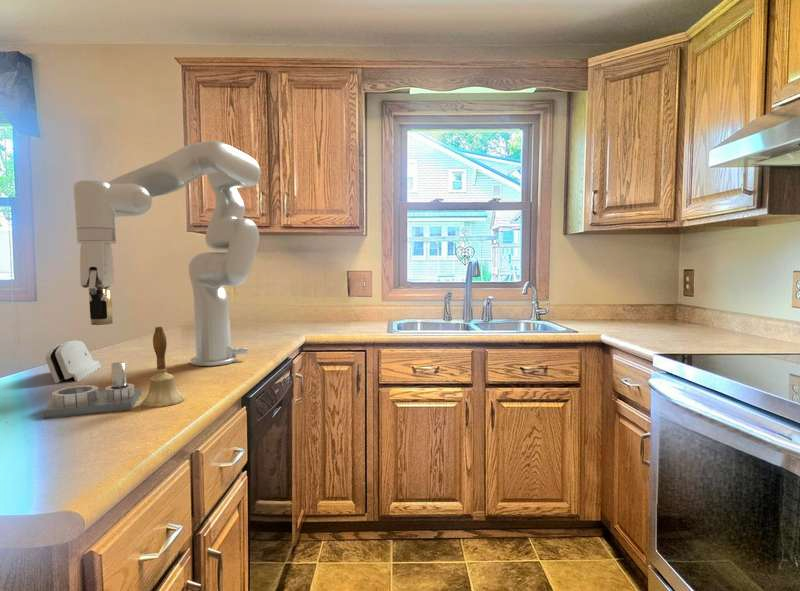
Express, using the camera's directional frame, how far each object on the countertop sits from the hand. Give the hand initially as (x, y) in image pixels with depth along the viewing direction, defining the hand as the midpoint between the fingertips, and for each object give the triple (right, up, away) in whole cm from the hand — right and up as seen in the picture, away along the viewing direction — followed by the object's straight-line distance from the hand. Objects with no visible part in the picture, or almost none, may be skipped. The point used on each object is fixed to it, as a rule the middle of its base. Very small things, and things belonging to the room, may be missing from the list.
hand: (101, 316), depth 114 cm
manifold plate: (+5, -18, -11) cm, 21 cm away
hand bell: (+18, -18, -8) cm, 27 cm away
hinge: (-17, -16, +17) cm, 29 cm away
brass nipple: (0, -2, 0) cm, 2 cm away
